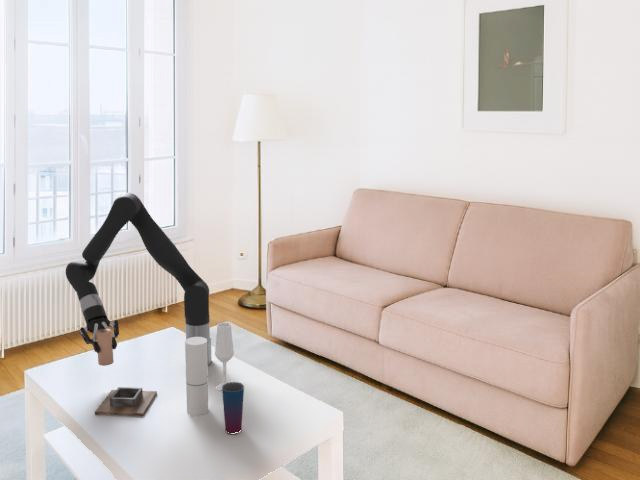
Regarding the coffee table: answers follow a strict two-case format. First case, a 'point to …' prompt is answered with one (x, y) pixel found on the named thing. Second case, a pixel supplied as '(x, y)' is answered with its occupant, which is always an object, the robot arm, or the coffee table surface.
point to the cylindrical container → (196, 375)
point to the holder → (126, 402)
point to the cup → (233, 406)
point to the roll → (105, 347)
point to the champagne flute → (224, 347)
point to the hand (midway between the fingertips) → (106, 350)
